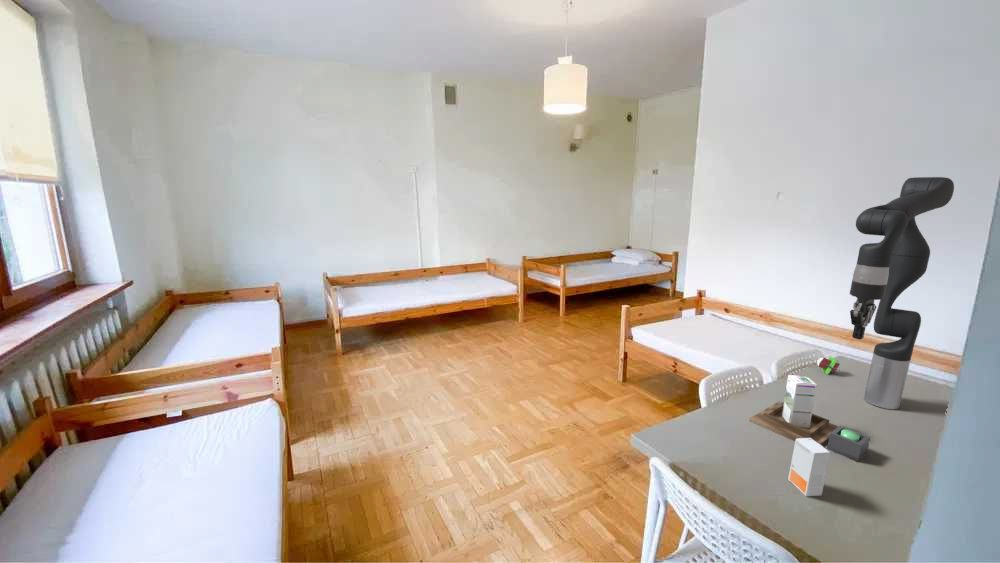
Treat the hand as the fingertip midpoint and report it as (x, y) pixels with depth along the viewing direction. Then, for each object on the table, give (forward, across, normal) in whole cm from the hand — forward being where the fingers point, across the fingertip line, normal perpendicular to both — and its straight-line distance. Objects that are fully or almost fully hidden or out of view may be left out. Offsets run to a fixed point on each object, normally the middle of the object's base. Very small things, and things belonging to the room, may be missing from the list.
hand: (857, 338), depth 124 cm
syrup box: (+28, -11, +8) cm, 31 cm away
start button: (+26, -13, -6) cm, 30 cm away
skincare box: (+29, -40, -6) cm, 50 cm away
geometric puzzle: (+29, +43, +18) cm, 55 cm away
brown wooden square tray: (+29, -11, +8) cm, 32 cm away
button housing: (+29, -13, -6) cm, 32 cm away
